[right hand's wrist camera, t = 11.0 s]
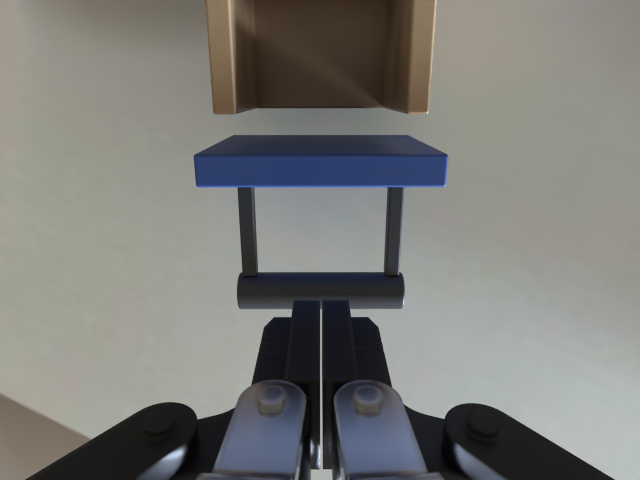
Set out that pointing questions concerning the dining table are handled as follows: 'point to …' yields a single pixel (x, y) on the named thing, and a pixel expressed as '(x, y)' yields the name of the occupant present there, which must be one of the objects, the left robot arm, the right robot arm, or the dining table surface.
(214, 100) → the drawer
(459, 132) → the dining table surface
